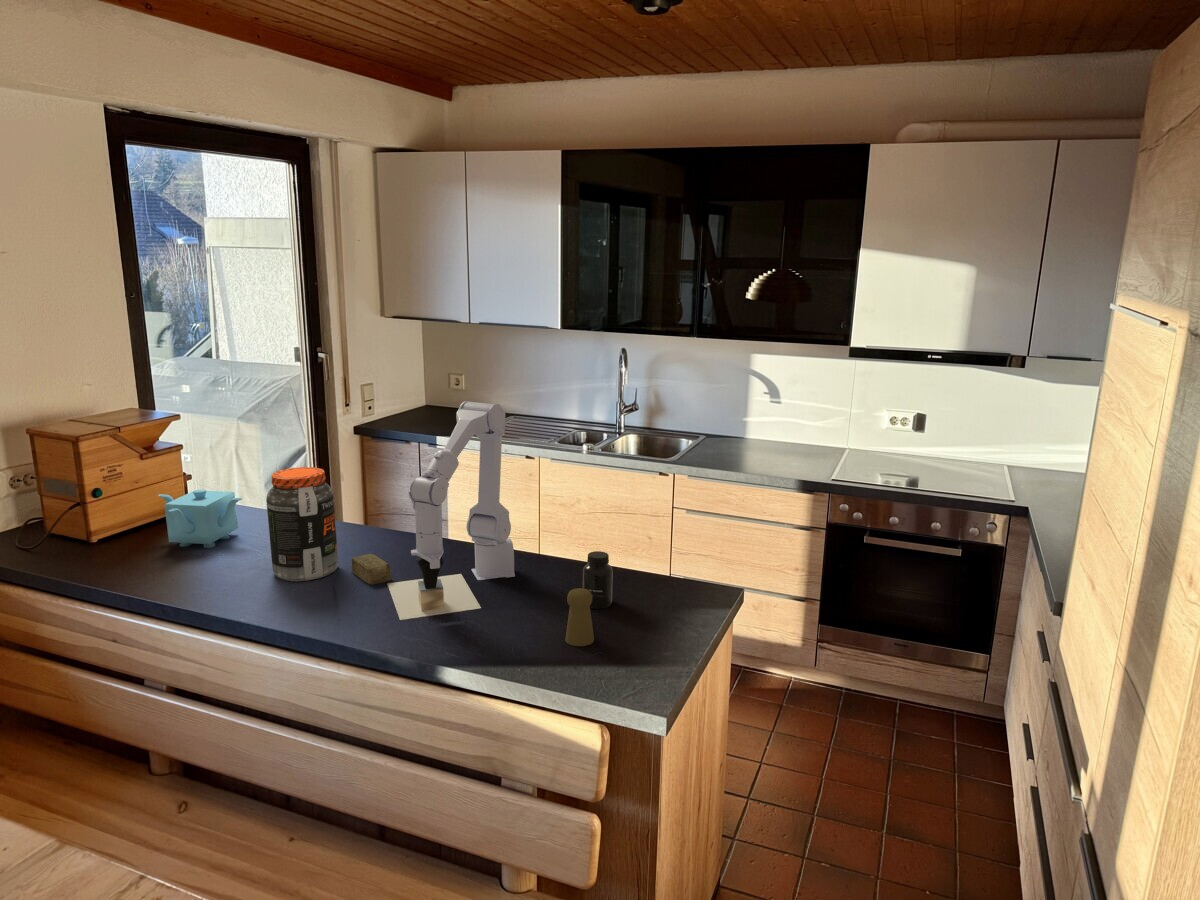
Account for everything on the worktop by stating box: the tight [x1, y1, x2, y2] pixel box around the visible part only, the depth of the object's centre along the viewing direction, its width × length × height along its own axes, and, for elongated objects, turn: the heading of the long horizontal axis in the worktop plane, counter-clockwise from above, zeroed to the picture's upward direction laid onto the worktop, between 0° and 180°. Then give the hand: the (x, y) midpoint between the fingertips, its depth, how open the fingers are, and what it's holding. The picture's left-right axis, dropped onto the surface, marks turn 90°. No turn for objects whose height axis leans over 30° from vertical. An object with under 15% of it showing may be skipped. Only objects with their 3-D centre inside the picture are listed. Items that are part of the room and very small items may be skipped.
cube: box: [418, 579, 444, 611], centre depth 191 cm, size 5×5×5 cm
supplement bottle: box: [582, 550, 614, 610], centre depth 193 cm, size 7×7×12 cm
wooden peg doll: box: [565, 587, 595, 647], centre depth 175 cm, size 6×6×11 cm
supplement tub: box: [265, 466, 339, 582], centre depth 209 cm, size 16×16×26 cm
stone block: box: [351, 553, 392, 585], centre depth 208 cm, size 6×12×5 cm, turn 40°
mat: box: [387, 573, 482, 621], centre depth 197 cm, size 18×22×1 cm
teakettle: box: [158, 488, 244, 549], centre depth 232 cm, size 19×19×15 cm
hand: (430, 588), depth 188 cm, fingers closed, pressing on cube
